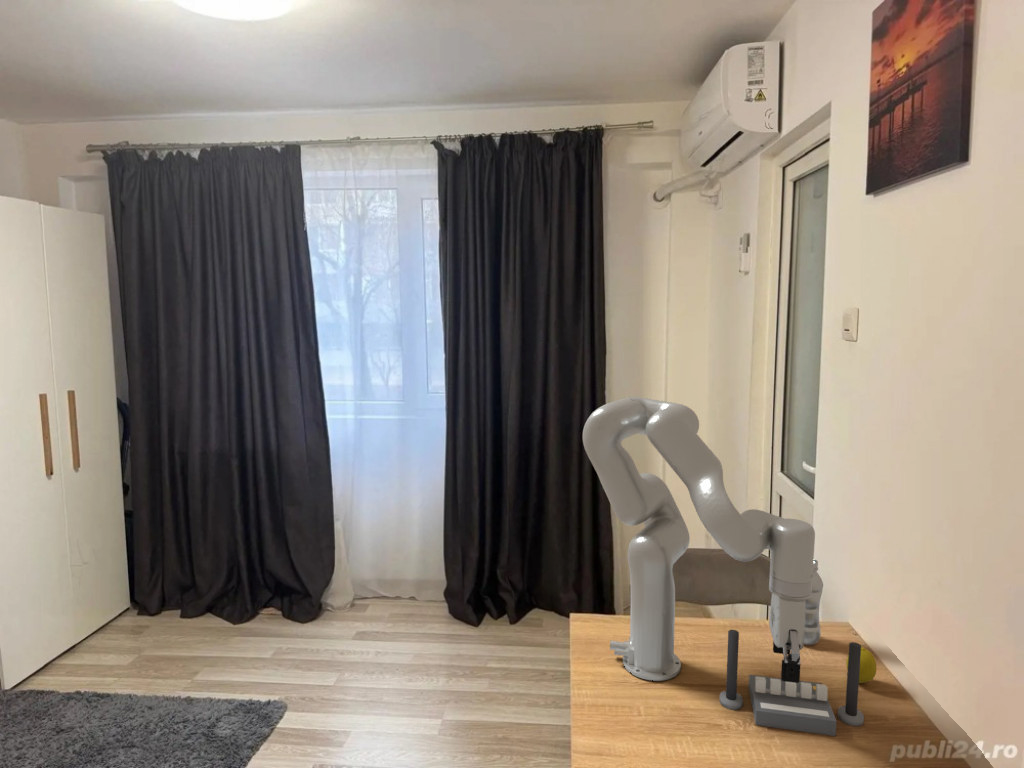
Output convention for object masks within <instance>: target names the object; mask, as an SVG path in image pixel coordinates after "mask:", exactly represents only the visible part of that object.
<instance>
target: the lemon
mask: <svg viewBox="0 0 1024 768" xmlns="http://www.w3.org/2000/svg"><path fill="white" fill-rule="evenodd" d="M848 657H849V653H848V655H847V658H846V670H847V671H848ZM876 673H877V661H876V658H875V656H874V654H873V653H872V652H871V651H870V650H868V649H866V648H865V647H864V646H861V657H860V673H859V684H863V683H869V682H871V681H872V680H873V679H874V678H875V676H876Z"/></svg>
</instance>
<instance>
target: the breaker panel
mask: <svg viewBox="0 0 1024 768" xmlns="http://www.w3.org/2000/svg"><path fill="white" fill-rule="evenodd" d="M755 676H756V677H765V679H766V689H770V678H773V679H780V681H781V691H785V681H782V680H781V677H775V676H774V677H773V676H766V675H765V676H763V675H756V674H748V691H749V697H750V698H749V699H750V702H751V707H752V713H753V719H754V723H755V726H760V727H767V728H774V729H775V728H776V729H782V730H788V731H789V730H790V731H797V732H801V733H802V732H804V733H811V734H816V735H817V734H818V735H826V736H833V737H836V734H837V718H836V716H835V713H834V711H833V708H832V706H831V703H830V701H829V698H828V697H827V701H822V700H817V699H813V698H811V699H806V698H801V697H797V696H796V697H791V696H786V695H775V694H771V693H766V692H765V693H760V692H756V691H755ZM801 682H805V683H811V685H812V695H816V684H822V685H823V683H821V682H816V681H815V682H812V681H804V680H800V681H799V683H796V693H800V688H801Z"/></svg>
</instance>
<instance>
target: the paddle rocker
mask: <svg viewBox="0 0 1024 768" xmlns="http://www.w3.org/2000/svg"><path fill="white" fill-rule="evenodd" d="M755 691H756V692H760V693H765V692H766V693H771V694H775V695H786V696H791V697H796V696H797V697H801V698H806V699H811V698H813V699H817V700H822V701H827V698H828V692H829V691H828V686H827V684H823V683H822V684H816V695H812V685H811V683H805V682H801V688H800V693H796V683H794V682H786V681H785V691H781V681H780V679H773V678H770V689H766V679H765V677H756V676H755Z"/></svg>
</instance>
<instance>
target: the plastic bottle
mask: <svg viewBox="0 0 1024 768" xmlns="http://www.w3.org/2000/svg"><path fill="white" fill-rule="evenodd" d="M818 565H819V561H818V560H816V559H815V558H814V559H813V576H812V593H811V597H810V598H808V599H806V600H805V610H806V611H805V632H804V644H803V645H808V646H813V645H816V644H817V643H818V642H819V641H820V639H821V625H820V604H821V599H822V593H823V589H824V582H823V580H822V577H821V575H820V574H819V573H818V570H819V567H818Z"/></svg>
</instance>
